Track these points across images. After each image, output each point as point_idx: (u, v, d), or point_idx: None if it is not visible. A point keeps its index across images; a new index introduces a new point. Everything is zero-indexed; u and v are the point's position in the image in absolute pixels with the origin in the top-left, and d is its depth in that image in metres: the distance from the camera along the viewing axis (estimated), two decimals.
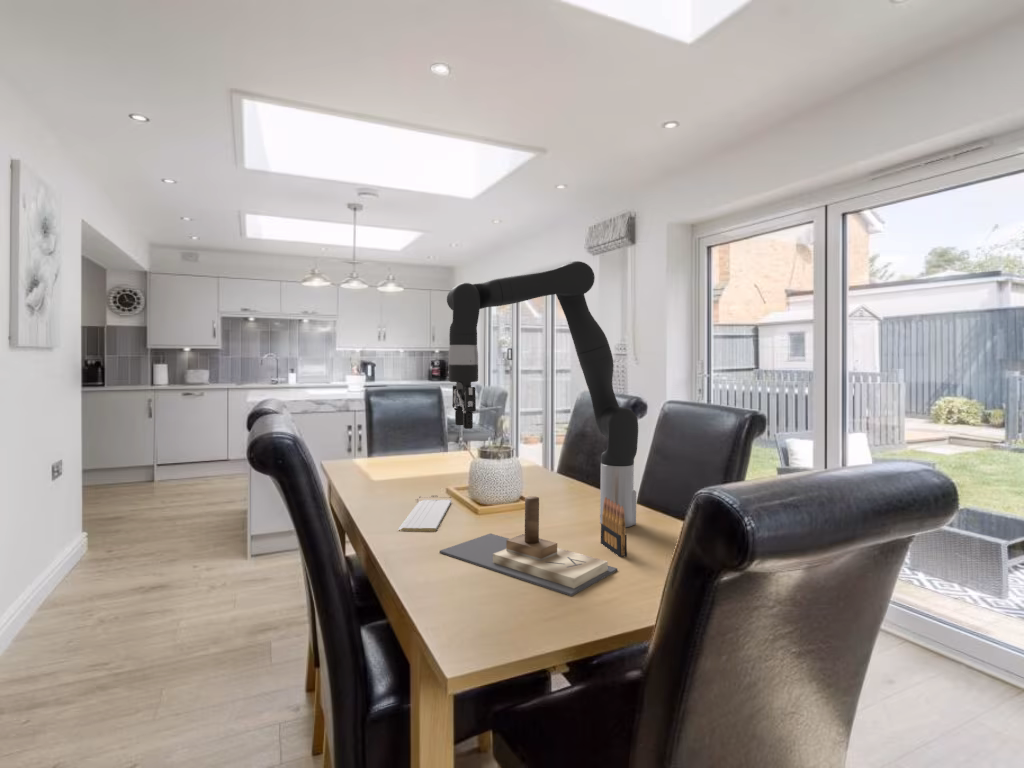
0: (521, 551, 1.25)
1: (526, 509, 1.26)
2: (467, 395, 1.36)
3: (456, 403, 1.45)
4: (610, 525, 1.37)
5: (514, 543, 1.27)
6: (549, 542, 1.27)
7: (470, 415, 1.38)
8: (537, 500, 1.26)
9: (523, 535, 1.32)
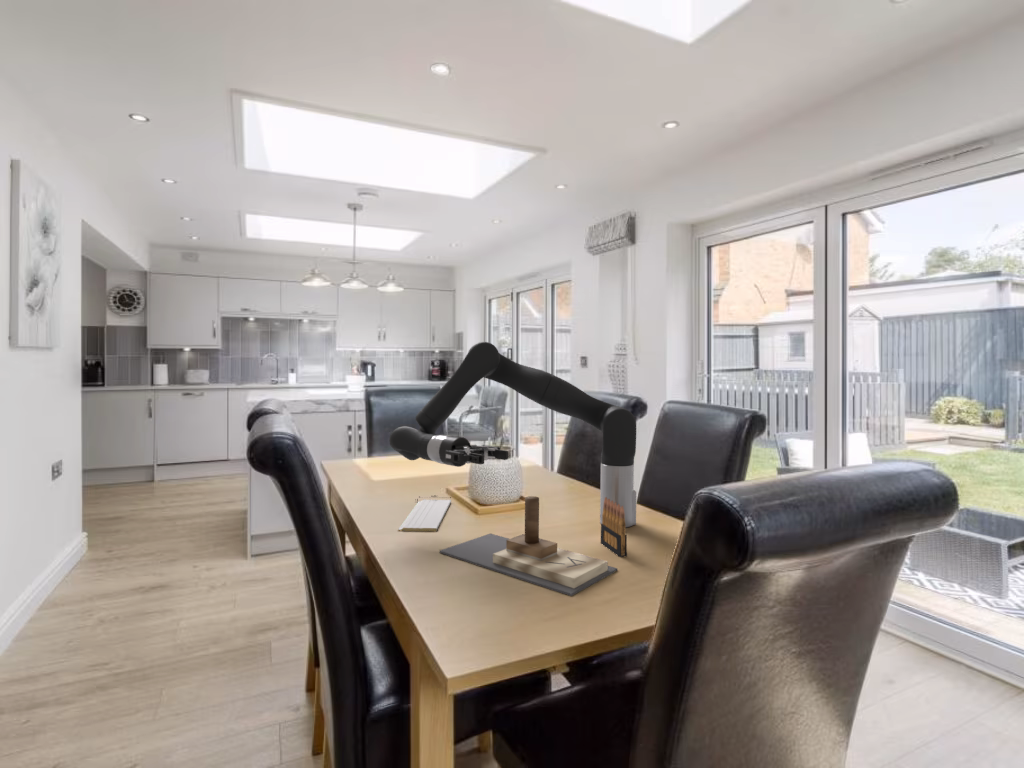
0: (521, 551, 1.25)
1: (526, 509, 1.26)
2: (450, 460, 1.34)
3: (486, 458, 1.40)
4: (610, 525, 1.37)
5: (514, 543, 1.27)
6: (549, 542, 1.27)
7: (470, 457, 1.32)
8: (537, 500, 1.26)
9: (523, 535, 1.32)
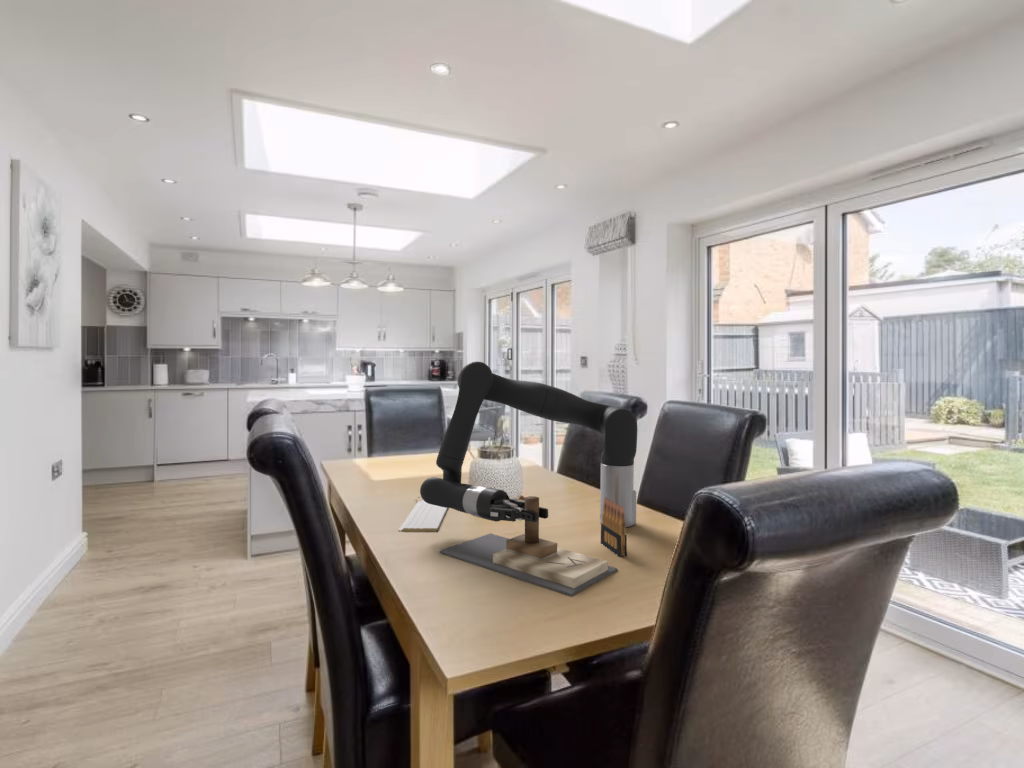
0: (521, 551, 1.25)
1: (526, 509, 1.26)
2: (498, 518, 1.26)
3: None
4: (610, 525, 1.37)
5: (514, 543, 1.27)
6: (549, 542, 1.27)
7: (522, 513, 1.25)
8: (537, 500, 1.26)
9: (523, 535, 1.32)
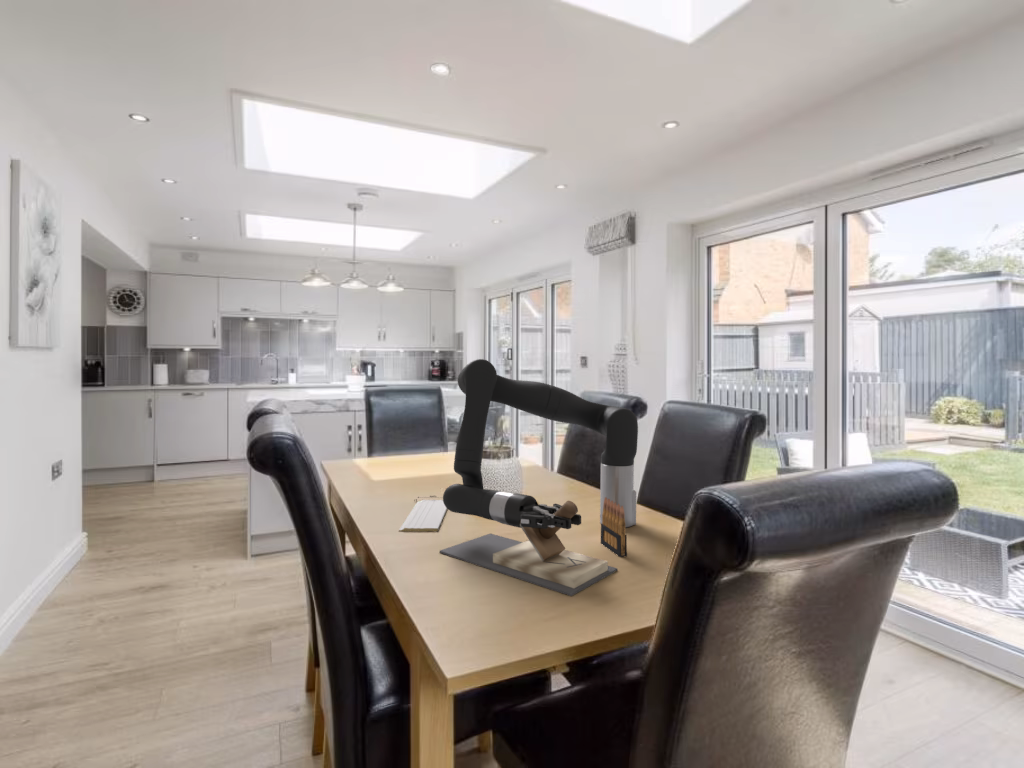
0: (531, 537, 1.23)
1: (560, 513, 1.20)
2: (529, 525, 1.20)
3: None
4: (610, 525, 1.37)
5: None
6: (559, 543, 1.25)
7: (554, 520, 1.19)
8: (575, 513, 1.19)
9: None
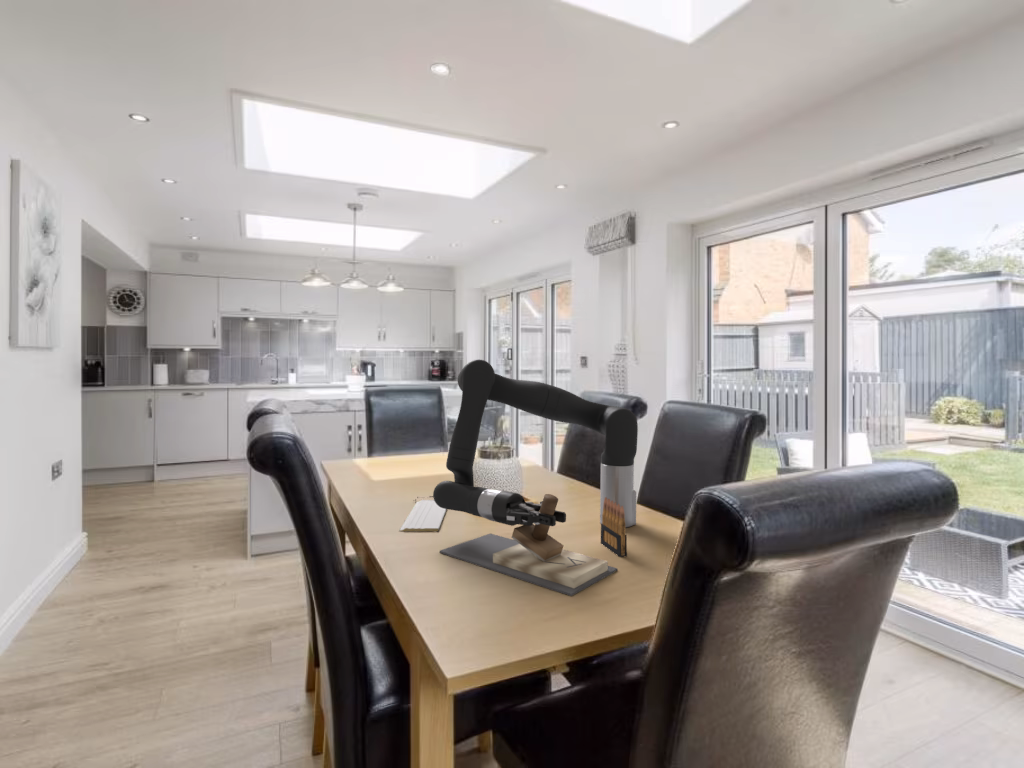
0: (527, 544, 1.24)
1: (542, 507, 1.23)
2: (514, 522, 1.23)
3: None
4: (610, 525, 1.37)
5: (521, 534, 1.25)
6: (556, 542, 1.26)
7: (539, 517, 1.22)
8: (556, 502, 1.23)
9: None
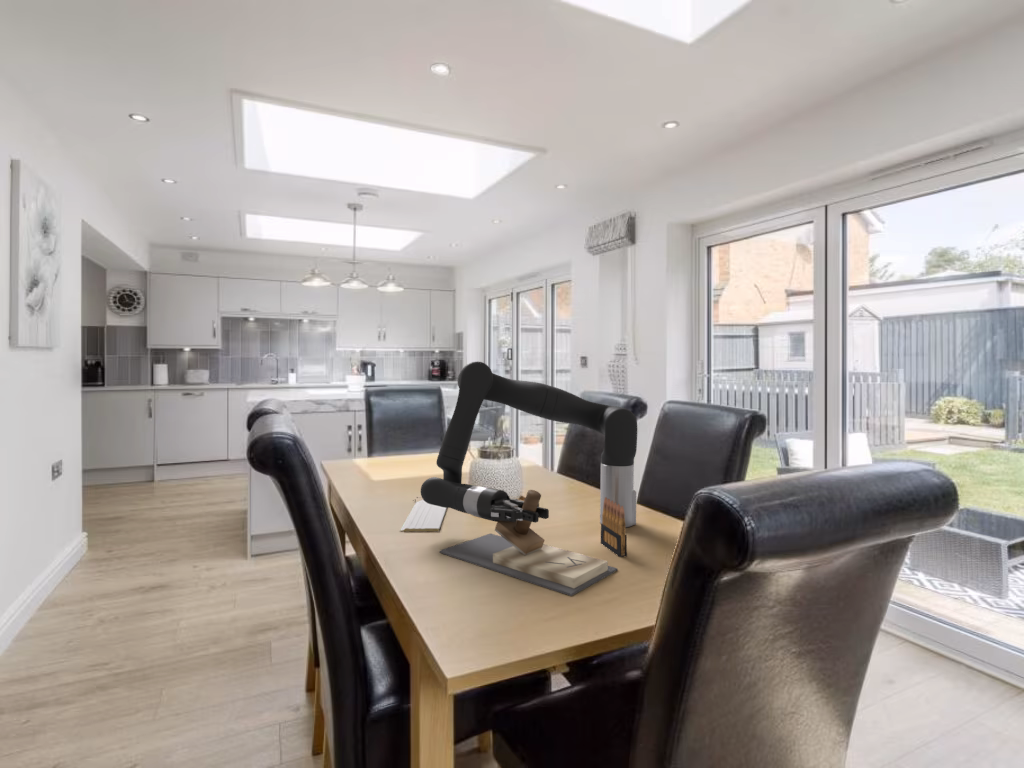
0: (509, 538, 1.28)
1: (525, 503, 1.26)
2: (498, 518, 1.26)
3: None
4: (610, 525, 1.37)
5: (504, 528, 1.29)
6: (537, 536, 1.29)
7: (523, 514, 1.25)
8: (539, 498, 1.26)
9: None
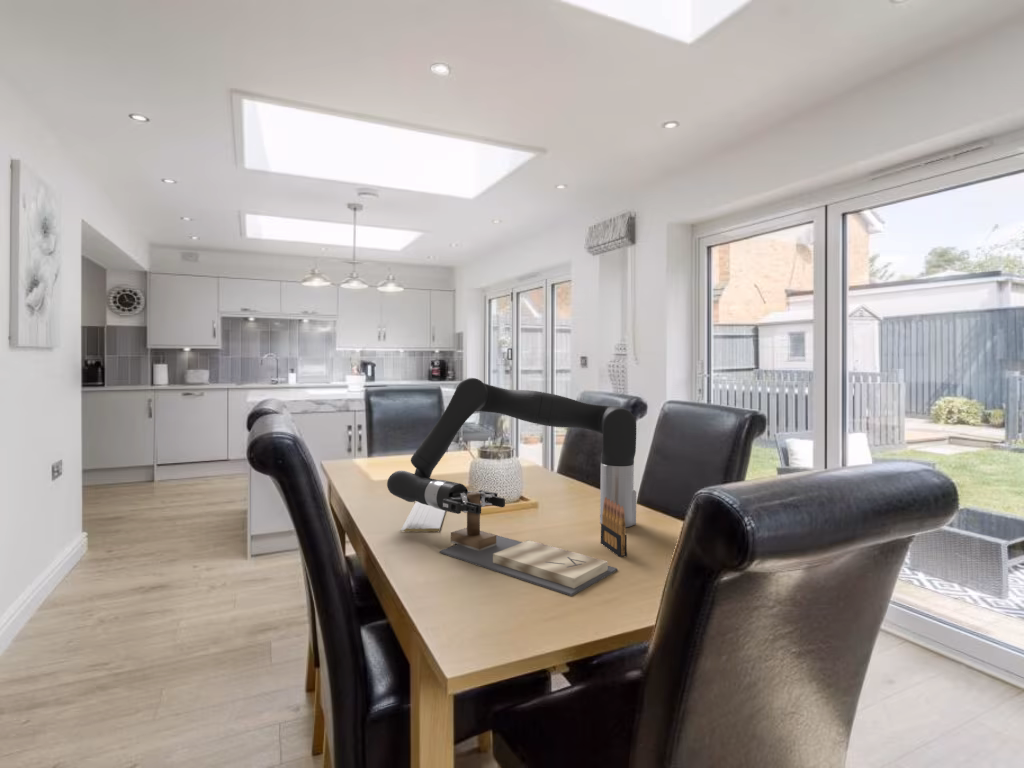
0: (463, 542, 1.37)
1: None
2: (447, 509, 1.35)
3: (483, 504, 1.41)
4: (610, 525, 1.37)
5: (457, 535, 1.39)
6: (489, 534, 1.39)
7: (467, 506, 1.33)
8: (478, 496, 1.38)
9: None
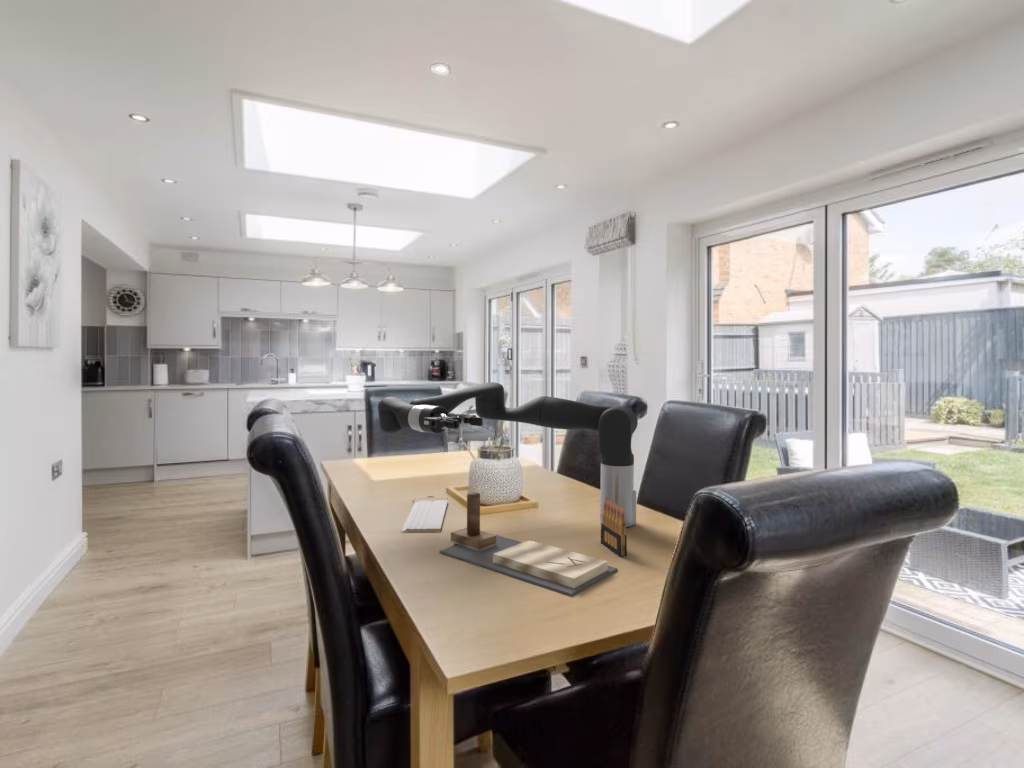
0: (463, 542, 1.37)
1: (468, 504, 1.38)
2: (428, 426, 1.44)
3: (462, 425, 1.50)
4: (610, 525, 1.37)
5: (457, 535, 1.39)
6: (489, 534, 1.39)
7: (446, 422, 1.42)
8: (478, 496, 1.38)
9: None
